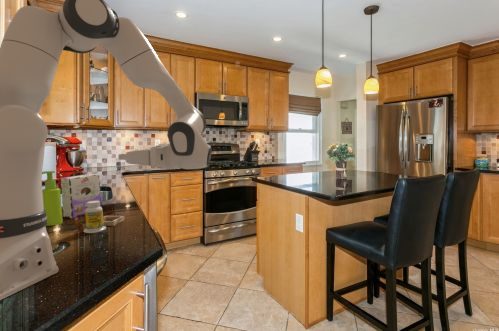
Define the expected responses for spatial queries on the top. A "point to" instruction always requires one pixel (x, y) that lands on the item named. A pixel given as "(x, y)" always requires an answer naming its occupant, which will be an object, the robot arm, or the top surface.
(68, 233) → the top surface
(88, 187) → the candy box
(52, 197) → the soap dispenser
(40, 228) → the robot arm
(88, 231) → the ceramic coaster
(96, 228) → the supplement bottle
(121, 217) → the square wooden frame
